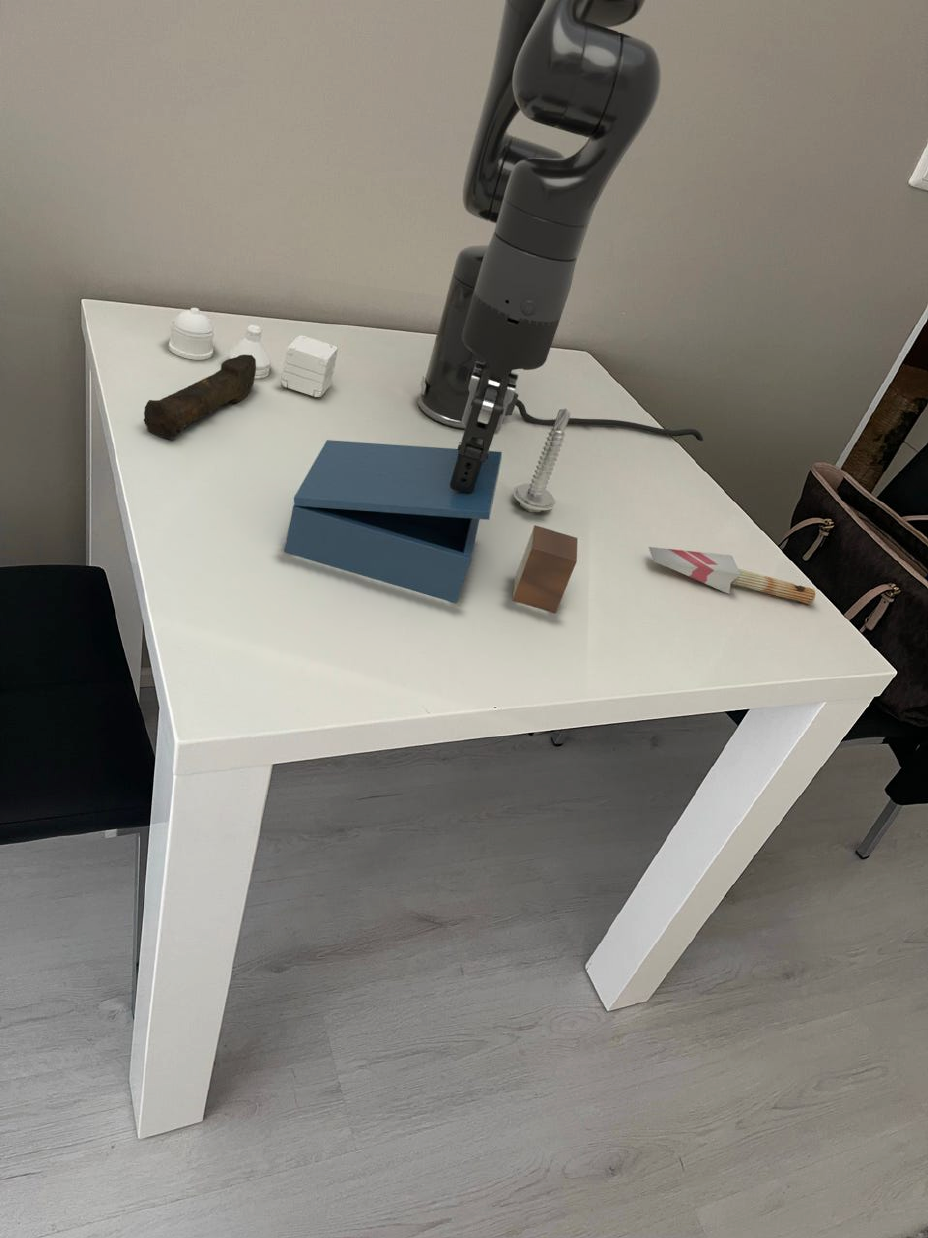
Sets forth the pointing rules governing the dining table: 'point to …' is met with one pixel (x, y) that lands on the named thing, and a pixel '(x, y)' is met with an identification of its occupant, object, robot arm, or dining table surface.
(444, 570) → the toolbox
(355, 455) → the toolbox lid
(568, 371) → the dining table surface
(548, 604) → the brown block
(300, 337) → the container set
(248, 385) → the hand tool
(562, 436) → the screw
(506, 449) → the dining table surface
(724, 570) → the knife with wooden handle
